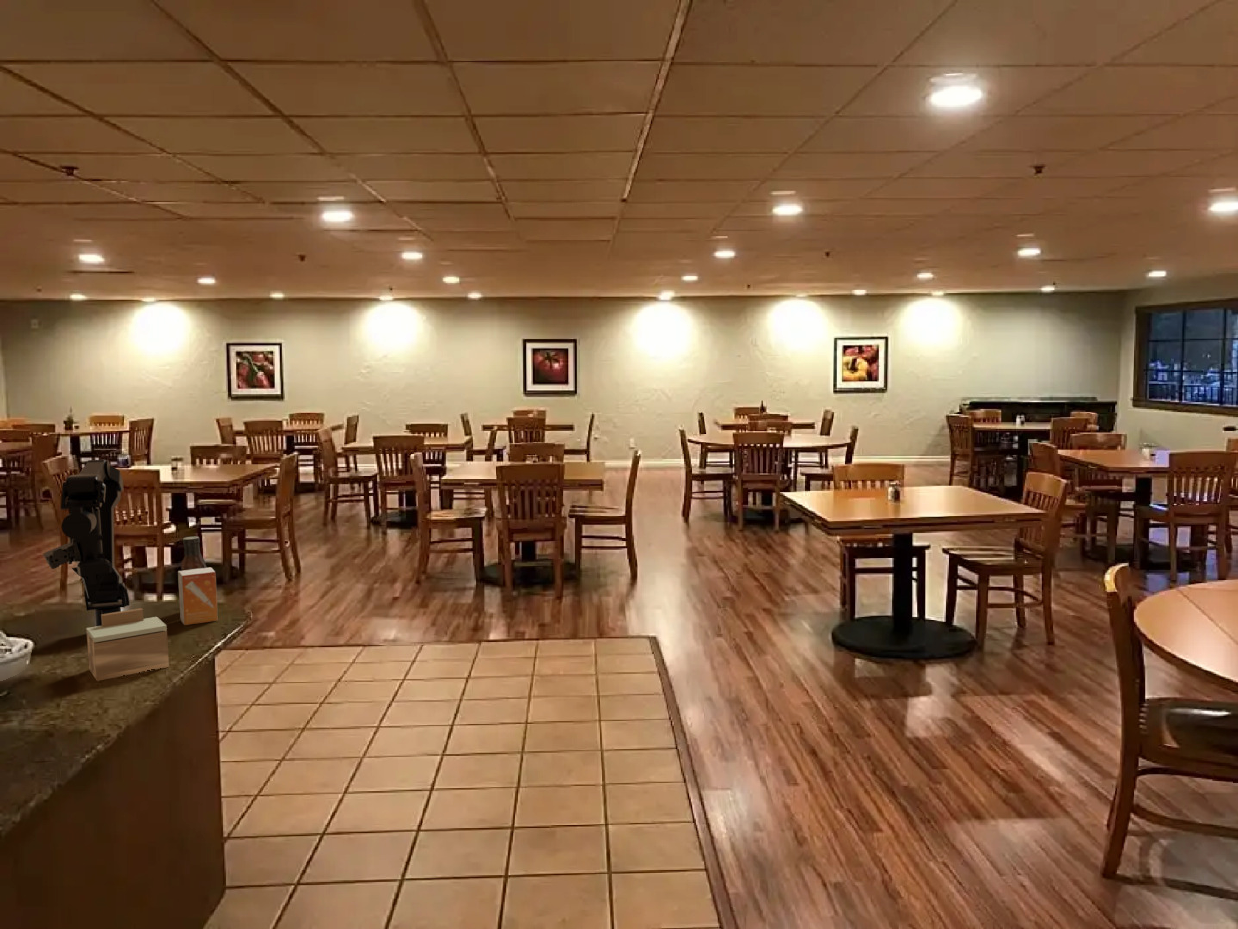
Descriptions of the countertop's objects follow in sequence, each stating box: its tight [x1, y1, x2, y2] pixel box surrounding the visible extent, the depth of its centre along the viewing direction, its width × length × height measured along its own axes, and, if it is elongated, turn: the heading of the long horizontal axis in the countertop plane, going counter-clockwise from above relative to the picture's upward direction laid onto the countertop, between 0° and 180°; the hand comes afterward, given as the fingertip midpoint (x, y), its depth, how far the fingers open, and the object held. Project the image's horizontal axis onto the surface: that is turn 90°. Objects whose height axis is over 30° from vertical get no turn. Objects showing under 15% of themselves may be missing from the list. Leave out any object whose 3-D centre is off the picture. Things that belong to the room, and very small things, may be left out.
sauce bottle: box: [180, 536, 208, 571], centre depth 249 cm, size 7×6×20 cm
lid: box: [85, 607, 168, 643], centre depth 203 cm, size 9×14×4 cm, turn 128°
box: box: [86, 630, 170, 682], centre depth 204 cm, size 9×14×8 cm, turn 128°
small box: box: [177, 567, 219, 626], centre depth 240 cm, size 8×6×13 cm
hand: (91, 598), depth 213 cm, fingers closed
